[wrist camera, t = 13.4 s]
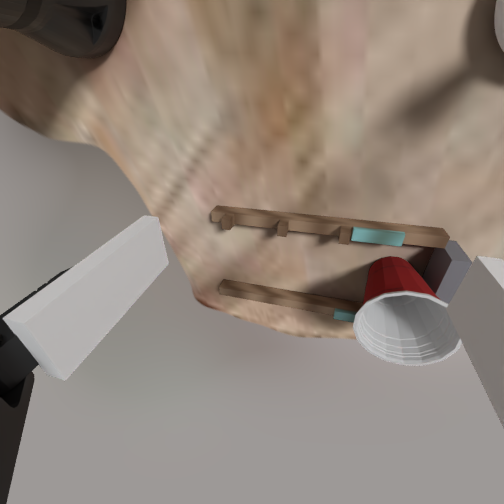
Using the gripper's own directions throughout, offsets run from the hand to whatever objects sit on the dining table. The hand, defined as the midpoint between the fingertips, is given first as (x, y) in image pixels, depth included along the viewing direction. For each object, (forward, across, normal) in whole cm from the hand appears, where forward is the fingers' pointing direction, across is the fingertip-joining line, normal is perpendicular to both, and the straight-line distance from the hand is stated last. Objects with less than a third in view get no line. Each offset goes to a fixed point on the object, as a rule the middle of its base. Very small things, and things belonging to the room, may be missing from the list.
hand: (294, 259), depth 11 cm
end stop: (+25, +18, -17) cm, 35 cm away
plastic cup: (+25, +12, -17) cm, 33 cm away
